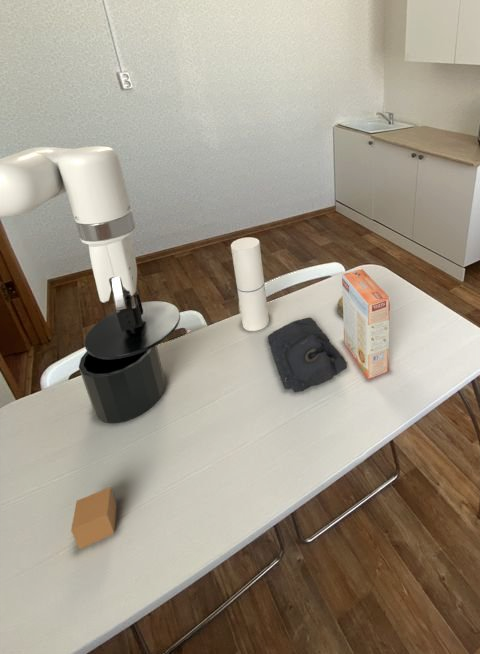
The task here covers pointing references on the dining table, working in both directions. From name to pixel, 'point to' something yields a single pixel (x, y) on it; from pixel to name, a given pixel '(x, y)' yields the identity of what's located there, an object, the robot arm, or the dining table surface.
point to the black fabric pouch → (304, 355)
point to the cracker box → (366, 322)
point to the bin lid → (132, 332)
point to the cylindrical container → (250, 283)
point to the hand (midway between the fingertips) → (132, 320)
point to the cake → (340, 307)
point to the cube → (94, 518)
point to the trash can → (123, 384)
